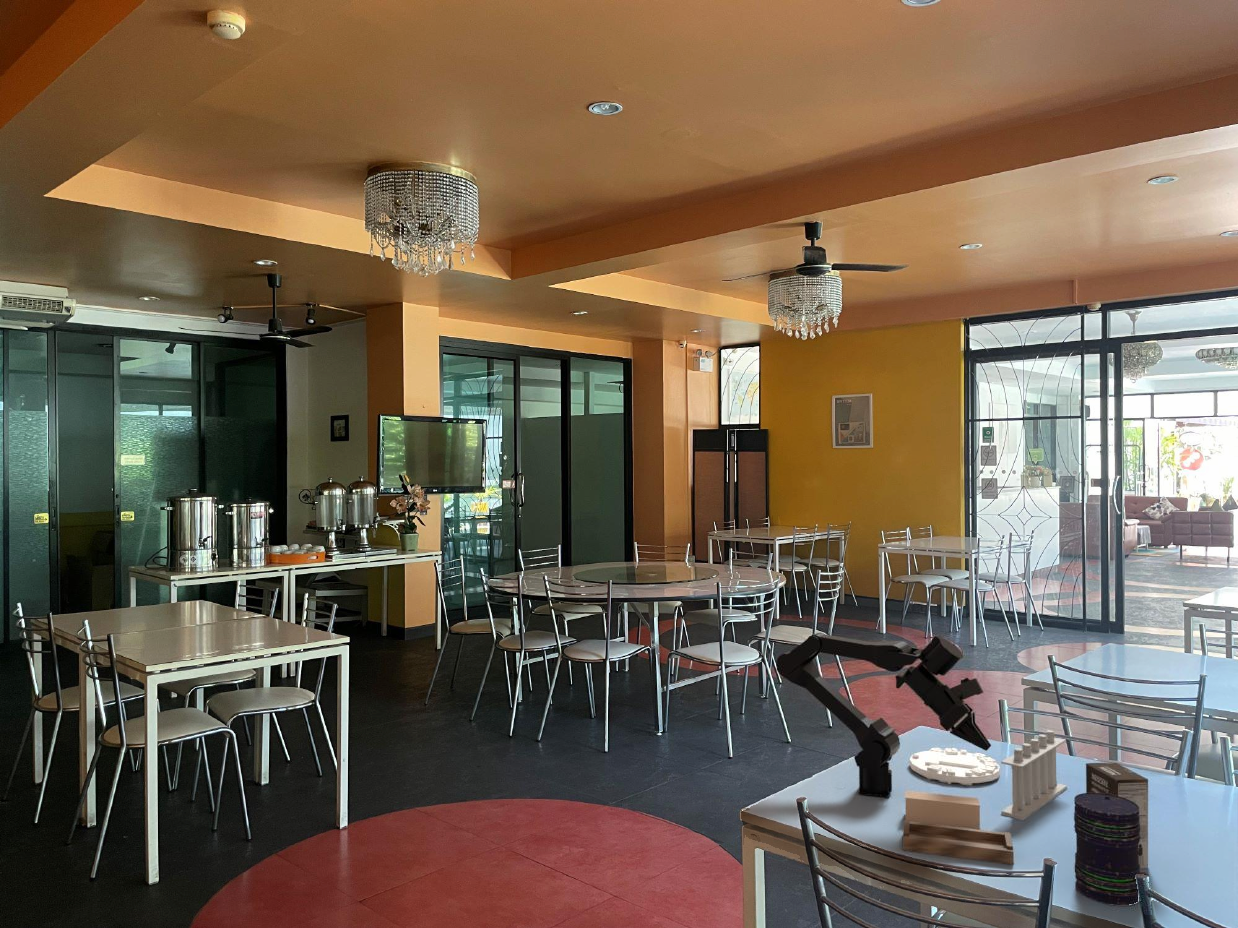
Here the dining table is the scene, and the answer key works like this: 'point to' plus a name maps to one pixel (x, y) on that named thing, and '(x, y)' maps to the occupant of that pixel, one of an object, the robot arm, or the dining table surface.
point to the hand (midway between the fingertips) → (988, 748)
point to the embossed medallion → (955, 766)
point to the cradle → (958, 842)
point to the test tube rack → (1033, 776)
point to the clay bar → (943, 810)
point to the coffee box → (1122, 794)
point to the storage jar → (1106, 848)
